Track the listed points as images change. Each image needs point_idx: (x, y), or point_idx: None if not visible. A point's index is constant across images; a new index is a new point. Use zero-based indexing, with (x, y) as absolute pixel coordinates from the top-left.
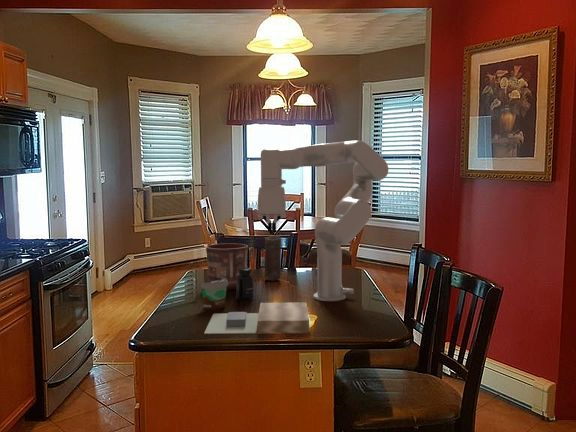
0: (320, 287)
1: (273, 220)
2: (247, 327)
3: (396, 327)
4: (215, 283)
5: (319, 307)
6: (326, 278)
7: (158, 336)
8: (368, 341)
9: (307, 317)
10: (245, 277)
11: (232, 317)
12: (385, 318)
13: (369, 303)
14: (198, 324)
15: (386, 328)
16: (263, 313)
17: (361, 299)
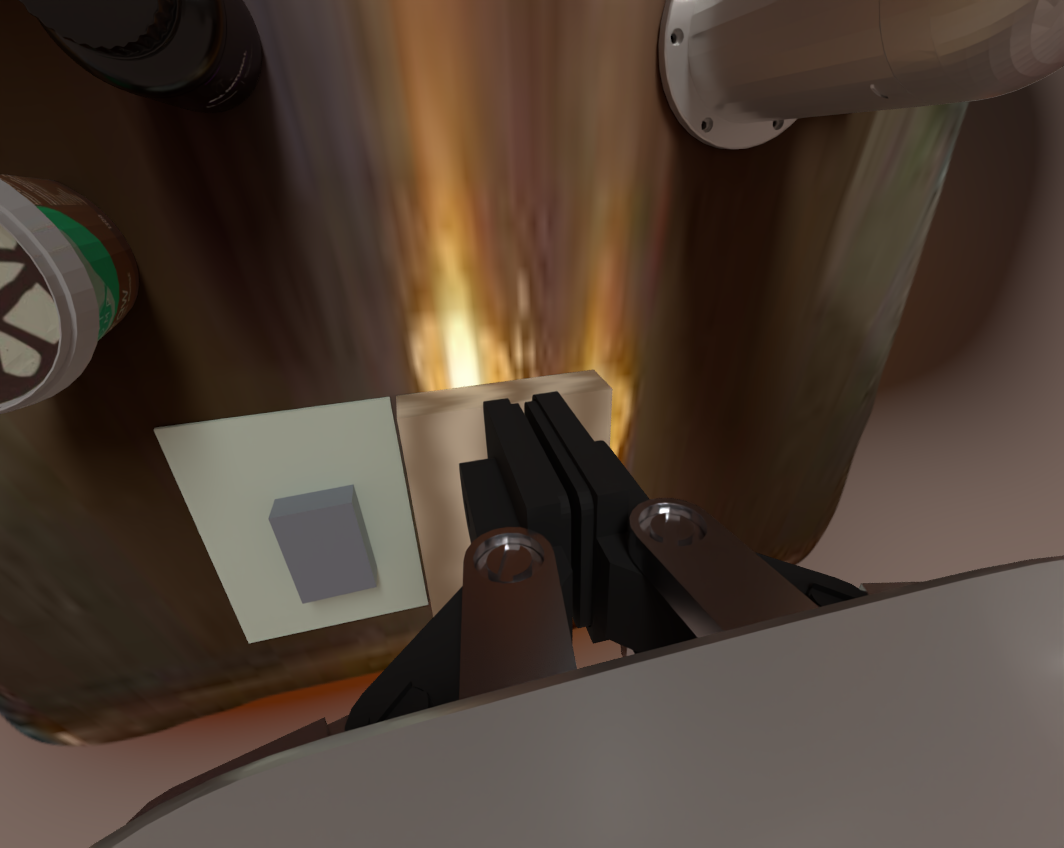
0: (730, 87)
1: (636, 607)
2: (386, 569)
3: (831, 481)
4: (23, 402)
5: (658, 263)
6: (802, 110)
7: (86, 690)
8: None
9: None
10: (156, 79)
11: (317, 578)
12: (843, 399)
13: (883, 178)
14: (164, 562)
15: (803, 494)
16: (442, 561)
17: None
